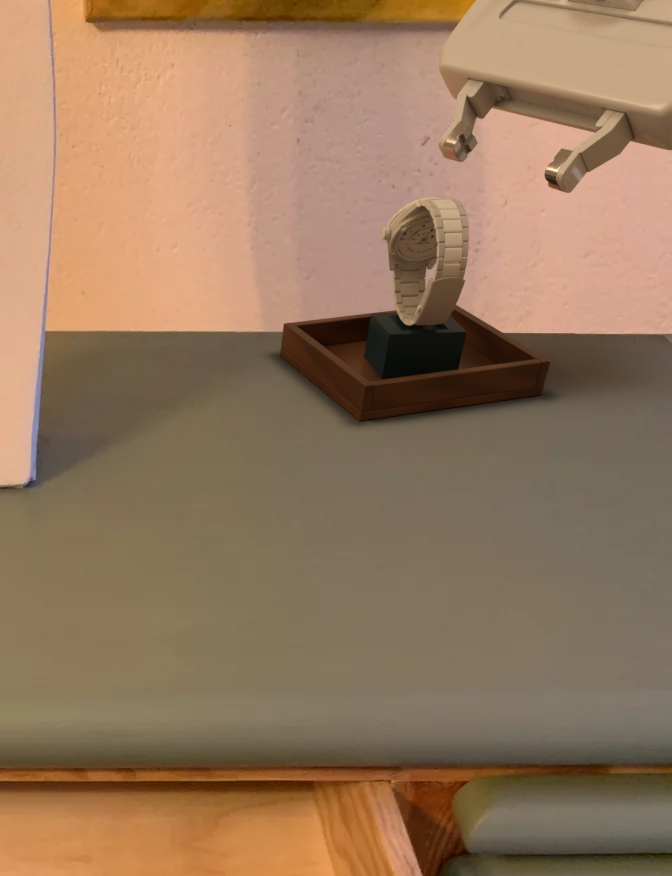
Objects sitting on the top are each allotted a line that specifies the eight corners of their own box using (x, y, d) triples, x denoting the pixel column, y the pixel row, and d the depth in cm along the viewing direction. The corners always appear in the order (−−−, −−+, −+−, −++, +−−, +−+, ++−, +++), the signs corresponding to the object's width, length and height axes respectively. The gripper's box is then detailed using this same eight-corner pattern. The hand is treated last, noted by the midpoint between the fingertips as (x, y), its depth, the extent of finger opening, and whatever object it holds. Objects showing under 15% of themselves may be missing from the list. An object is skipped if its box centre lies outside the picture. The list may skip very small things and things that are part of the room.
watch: (427, 344, 87) (460, 183, 80) (465, 385, 81) (504, 216, 74) (355, 346, 86) (381, 185, 79) (387, 388, 80) (419, 218, 73)
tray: (446, 334, 90) (453, 302, 88) (541, 395, 81) (551, 360, 80) (279, 355, 87) (283, 323, 85) (359, 421, 78) (365, 386, 76)
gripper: (799, 41, 70) (640, 238, 73) (538, 1, 83) (412, 169, 86) (784, -45, 65) (615, 169, 68) (510, -73, 78) (377, 107, 81)
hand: (499, 169), depth 77 cm, fingers open, 8 cm apart
